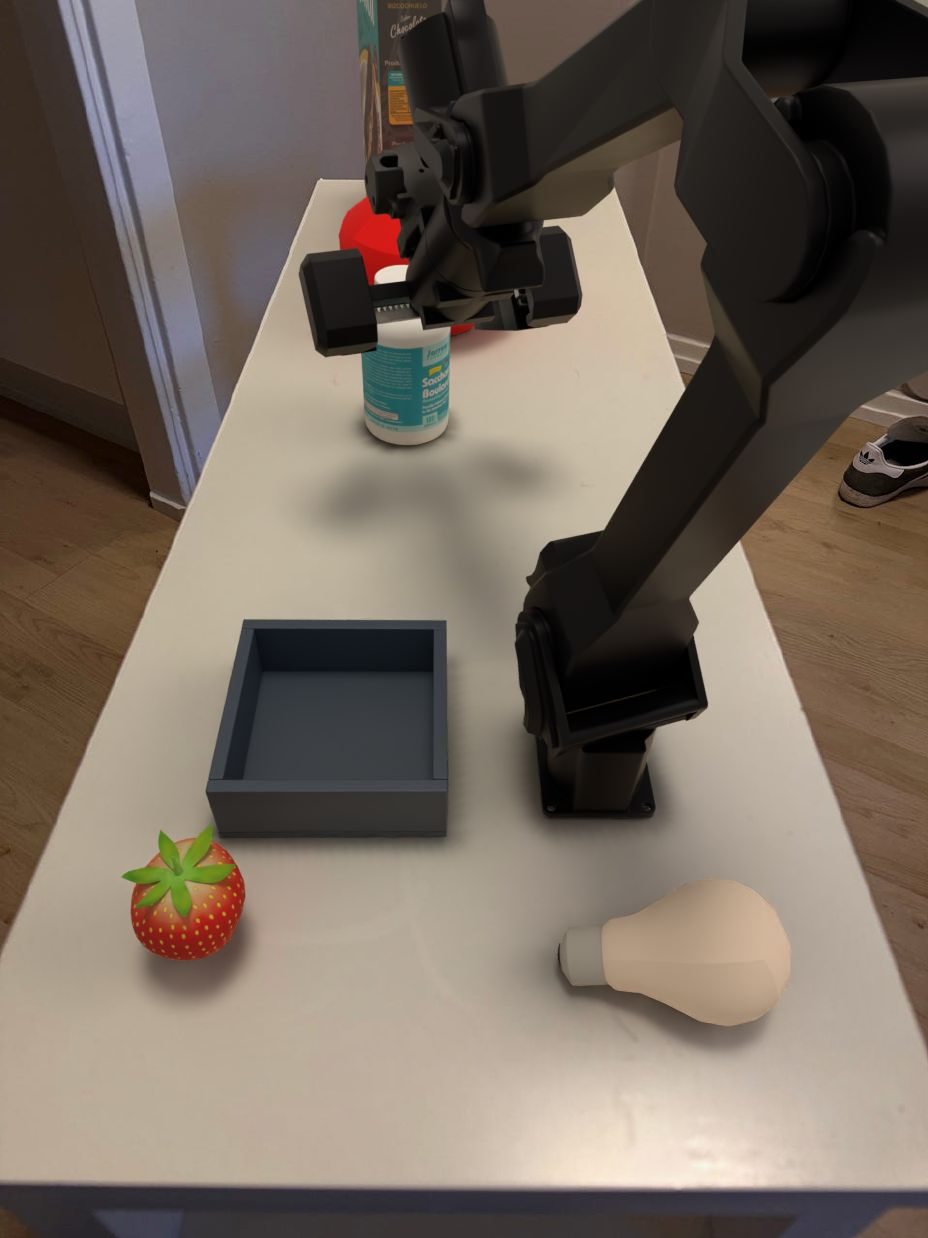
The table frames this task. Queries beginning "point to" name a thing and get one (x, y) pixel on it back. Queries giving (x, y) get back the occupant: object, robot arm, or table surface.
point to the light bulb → (689, 953)
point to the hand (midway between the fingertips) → (419, 330)
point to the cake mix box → (386, 69)
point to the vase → (376, 242)
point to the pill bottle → (406, 377)
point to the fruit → (187, 898)
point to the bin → (334, 731)
